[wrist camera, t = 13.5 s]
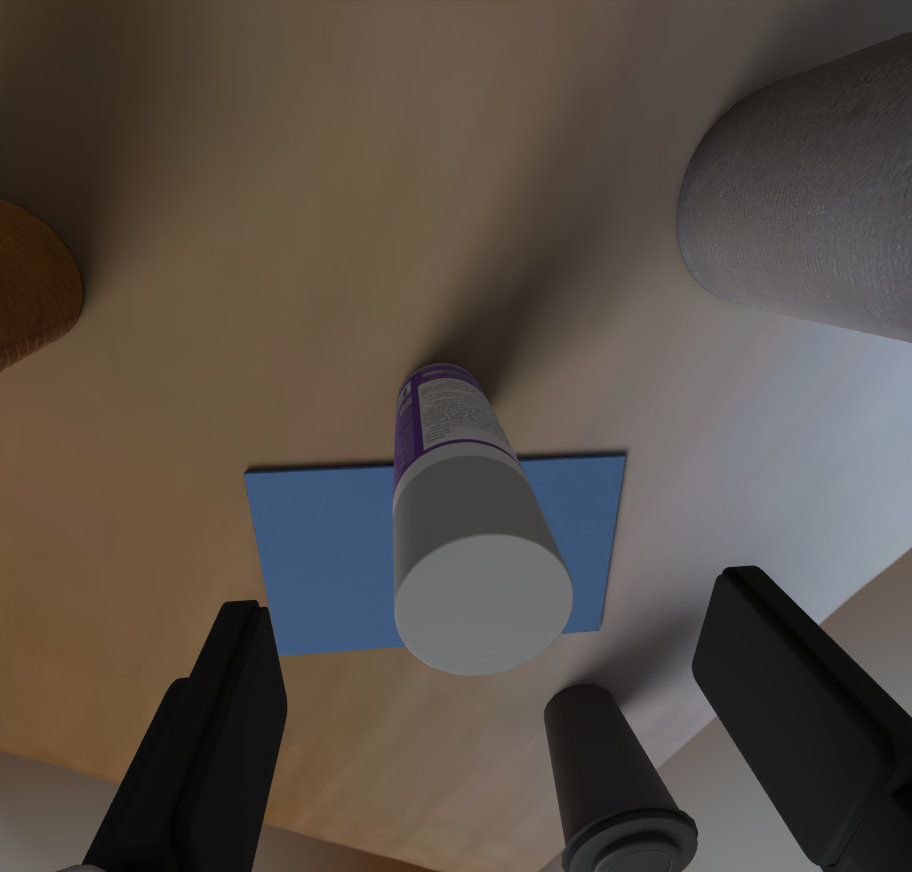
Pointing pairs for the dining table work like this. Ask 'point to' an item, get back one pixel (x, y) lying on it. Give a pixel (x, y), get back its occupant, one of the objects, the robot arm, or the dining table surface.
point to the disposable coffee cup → (33, 285)
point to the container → (468, 534)
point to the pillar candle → (811, 196)
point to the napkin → (371, 546)
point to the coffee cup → (611, 791)
